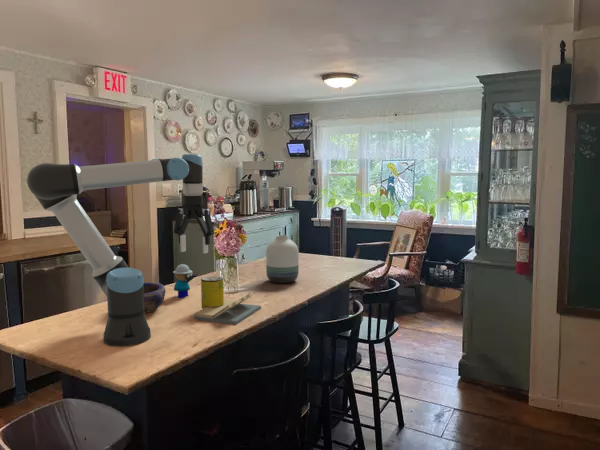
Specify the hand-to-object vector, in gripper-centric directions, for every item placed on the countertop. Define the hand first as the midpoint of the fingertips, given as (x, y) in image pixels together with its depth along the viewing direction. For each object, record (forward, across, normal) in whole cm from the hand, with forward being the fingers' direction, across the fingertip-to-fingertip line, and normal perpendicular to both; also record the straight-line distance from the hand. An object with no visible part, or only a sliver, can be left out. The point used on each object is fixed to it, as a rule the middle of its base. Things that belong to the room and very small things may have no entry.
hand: (194, 252), depth 181 cm
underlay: (+26, -11, -7) cm, 29 cm away
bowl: (+26, +24, +1) cm, 35 cm away
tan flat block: (+22, -14, -1) cm, 26 cm away
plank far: (+22, -14, -13) cm, 29 cm away
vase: (+26, -10, -67) cm, 73 cm away
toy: (+26, +21, -23) cm, 41 cm away
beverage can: (+24, -2, -9) cm, 26 cm away
